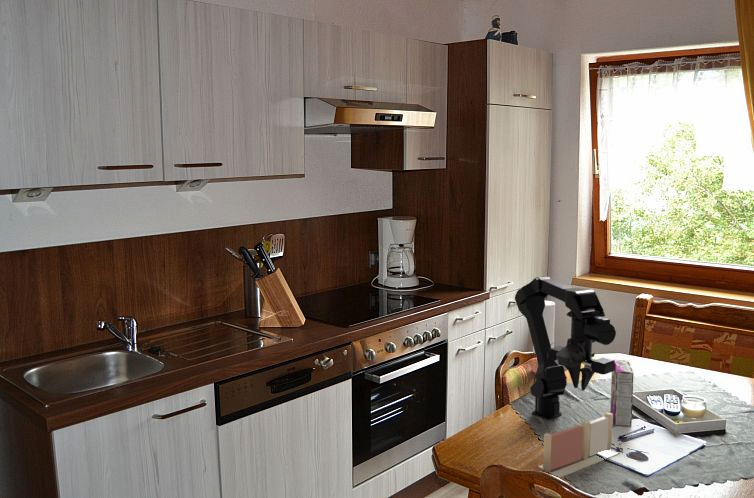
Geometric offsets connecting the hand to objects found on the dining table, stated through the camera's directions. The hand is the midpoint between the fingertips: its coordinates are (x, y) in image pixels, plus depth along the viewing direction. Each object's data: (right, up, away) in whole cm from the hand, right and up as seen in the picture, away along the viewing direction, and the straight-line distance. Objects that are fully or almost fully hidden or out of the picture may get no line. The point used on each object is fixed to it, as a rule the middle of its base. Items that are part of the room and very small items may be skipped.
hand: (579, 389), depth 197 cm
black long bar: (+2, -5, +53) cm, 53 cm away
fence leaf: (-10, -16, -18) cm, 26 cm away
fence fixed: (+1, -15, -11) cm, 19 cm away
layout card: (-4, -16, -14) cm, 22 cm away
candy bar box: (+15, -11, +12) cm, 22 cm away
